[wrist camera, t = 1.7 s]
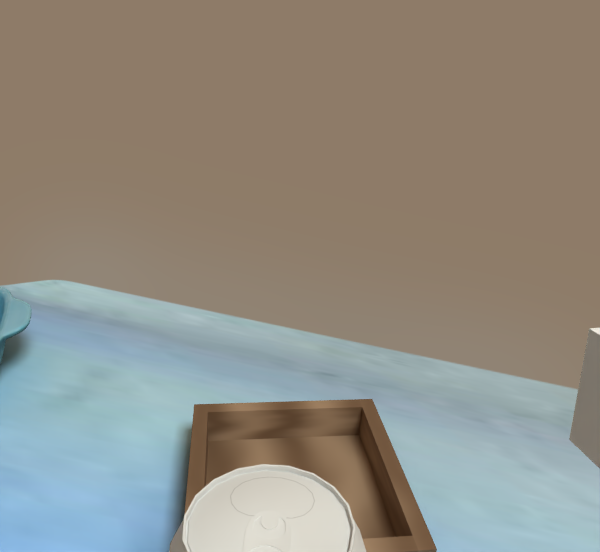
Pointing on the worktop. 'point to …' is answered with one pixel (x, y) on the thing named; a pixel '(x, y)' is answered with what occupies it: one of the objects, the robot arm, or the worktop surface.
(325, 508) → the supplement can
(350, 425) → the walnut tray
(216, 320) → the worktop surface
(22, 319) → the casserole dish
